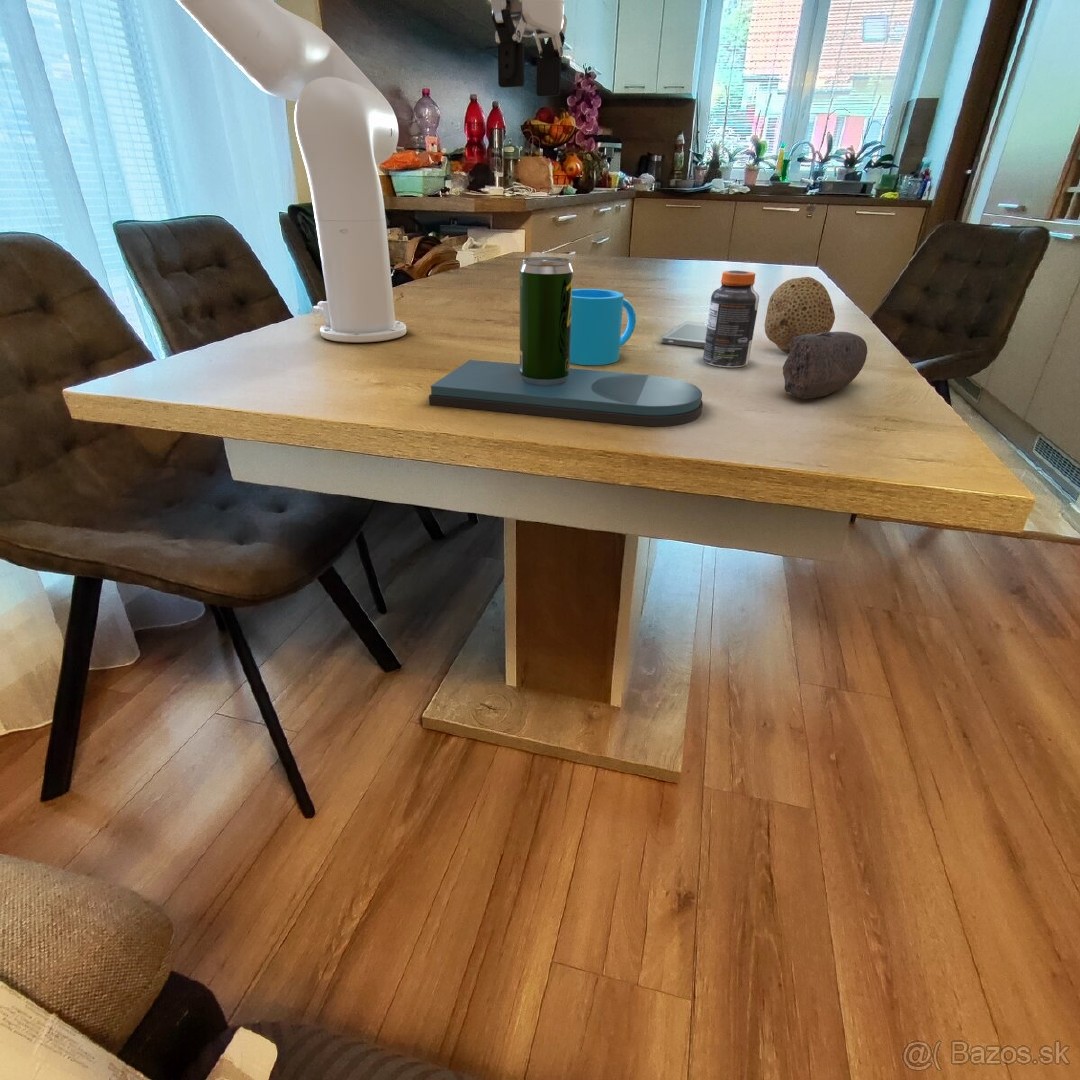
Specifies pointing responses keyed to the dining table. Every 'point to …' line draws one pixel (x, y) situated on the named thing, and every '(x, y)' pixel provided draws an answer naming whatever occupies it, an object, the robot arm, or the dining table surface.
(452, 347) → the dining table surface
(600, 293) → the mug
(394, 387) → the dining table surface
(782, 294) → the natural sponge
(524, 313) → the beer can
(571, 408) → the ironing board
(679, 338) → the smartphone
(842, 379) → the rock
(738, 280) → the pill bottle
